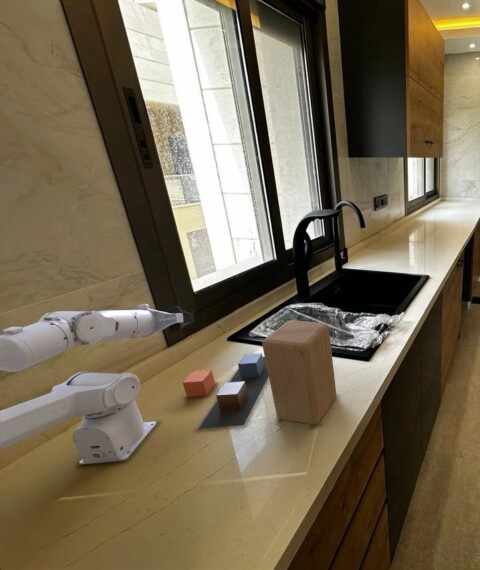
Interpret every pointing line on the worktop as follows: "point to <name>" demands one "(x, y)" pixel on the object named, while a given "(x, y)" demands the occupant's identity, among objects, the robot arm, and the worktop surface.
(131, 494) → the worktop surface
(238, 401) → the walnut block
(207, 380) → the terracotta block
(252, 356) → the slate-blue block
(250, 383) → the line mat
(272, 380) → the wooden block
